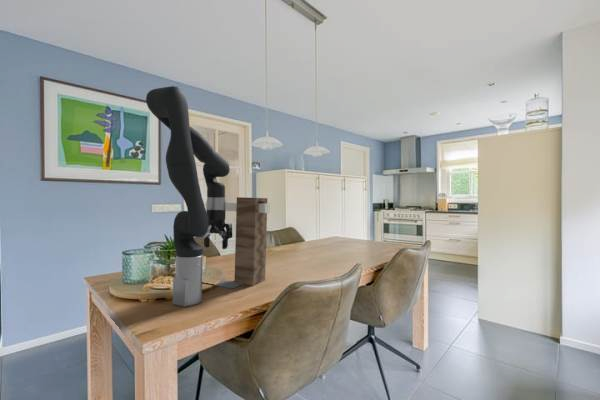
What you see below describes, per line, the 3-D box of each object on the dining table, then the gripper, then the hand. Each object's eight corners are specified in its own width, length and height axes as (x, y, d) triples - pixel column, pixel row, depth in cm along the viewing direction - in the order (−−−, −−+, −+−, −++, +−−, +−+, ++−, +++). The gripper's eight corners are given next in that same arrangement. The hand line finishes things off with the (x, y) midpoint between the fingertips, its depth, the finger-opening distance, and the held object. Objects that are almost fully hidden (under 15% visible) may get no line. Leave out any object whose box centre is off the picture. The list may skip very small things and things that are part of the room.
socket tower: (253, 285, 122) (255, 198, 122) (234, 282, 126) (236, 197, 126) (265, 280, 131) (267, 198, 131) (247, 277, 135) (249, 197, 135)
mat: (232, 288, 117) (232, 287, 117) (187, 280, 127) (187, 279, 127) (242, 284, 124) (242, 283, 124) (198, 276, 134) (198, 275, 134)
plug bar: (264, 212, 123) (265, 203, 123) (224, 210, 132) (224, 202, 132) (269, 212, 127) (269, 203, 127) (230, 210, 136) (230, 202, 136)
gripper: (195, 208, 113) (195, 248, 114) (225, 209, 109) (225, 251, 109) (207, 207, 120) (207, 245, 121) (236, 208, 116) (235, 247, 116)
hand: (215, 247), depth 115 cm, fingers open, 8 cm apart
